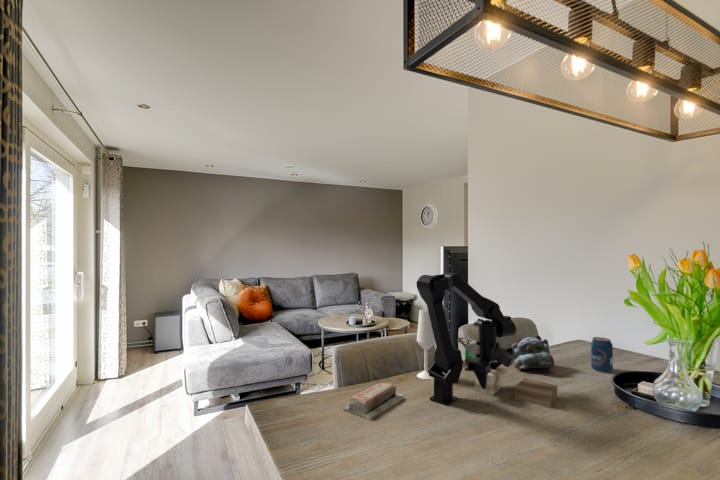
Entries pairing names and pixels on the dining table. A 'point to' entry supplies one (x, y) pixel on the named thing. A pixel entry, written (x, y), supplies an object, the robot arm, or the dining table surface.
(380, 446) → the dining table surface
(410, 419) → the dining table surface
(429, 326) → the champagne flute
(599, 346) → the soda can
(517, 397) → the walnut block
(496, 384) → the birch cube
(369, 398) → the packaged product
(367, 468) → the dining table surface
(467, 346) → the food container
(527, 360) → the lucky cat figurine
